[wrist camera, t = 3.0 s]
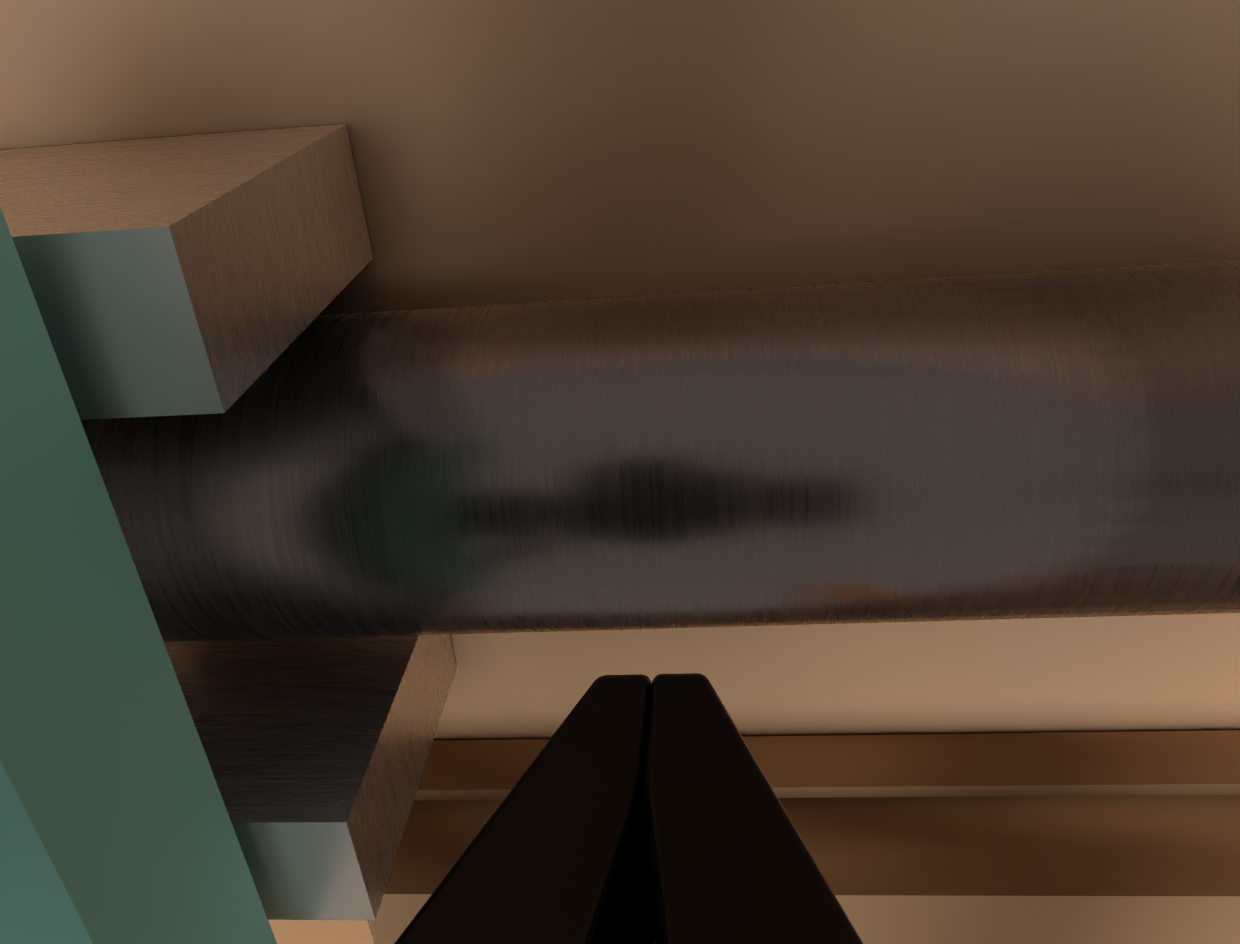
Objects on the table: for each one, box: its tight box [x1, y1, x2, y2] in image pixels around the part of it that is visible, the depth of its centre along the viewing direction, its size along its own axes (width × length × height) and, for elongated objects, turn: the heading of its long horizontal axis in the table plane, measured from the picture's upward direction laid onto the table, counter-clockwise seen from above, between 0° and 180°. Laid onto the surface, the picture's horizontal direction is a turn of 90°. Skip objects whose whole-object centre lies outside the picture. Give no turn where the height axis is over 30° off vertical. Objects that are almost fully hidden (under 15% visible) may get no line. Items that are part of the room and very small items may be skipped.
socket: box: [0, 124, 456, 920], centre depth 11 cm, size 8×8×4 cm
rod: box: [81, 259, 1240, 642], centre depth 11 cm, size 14×4×4 cm, turn 95°
